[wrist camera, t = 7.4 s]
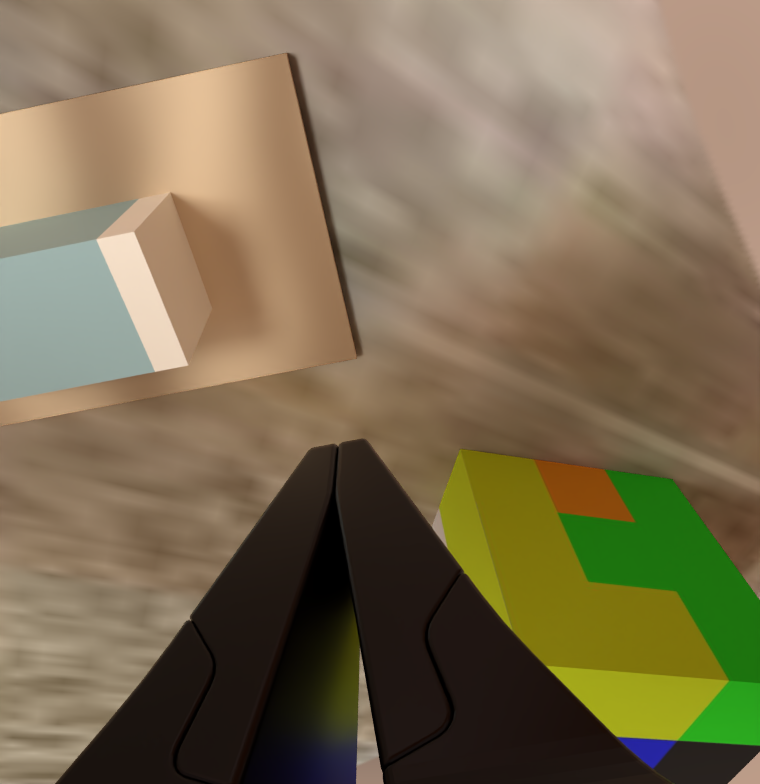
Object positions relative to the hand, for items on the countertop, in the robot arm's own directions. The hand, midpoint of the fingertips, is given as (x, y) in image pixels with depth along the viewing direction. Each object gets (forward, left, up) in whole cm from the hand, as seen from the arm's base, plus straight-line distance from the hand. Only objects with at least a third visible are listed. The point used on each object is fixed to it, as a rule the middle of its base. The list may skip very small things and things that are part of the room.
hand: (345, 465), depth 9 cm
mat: (-5, +5, -13) cm, 15 cm away
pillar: (-4, +4, -11) cm, 12 cm away
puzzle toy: (-8, -16, -13) cm, 22 cm away
